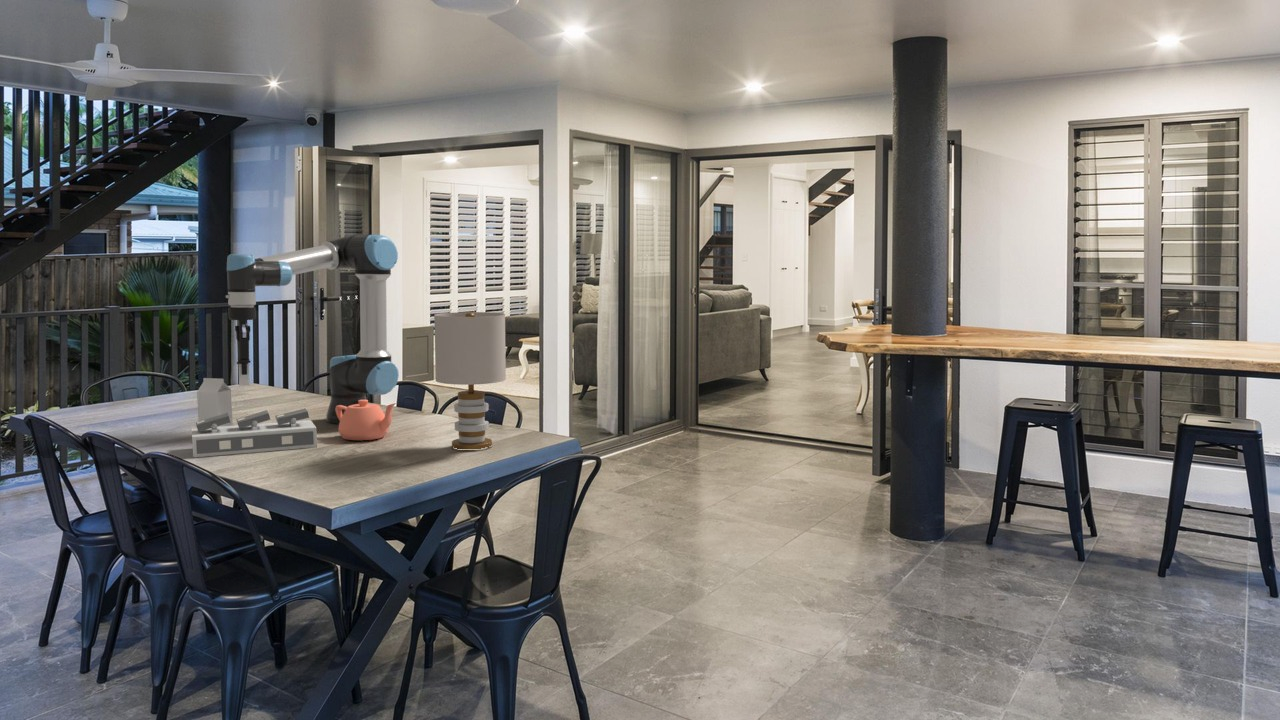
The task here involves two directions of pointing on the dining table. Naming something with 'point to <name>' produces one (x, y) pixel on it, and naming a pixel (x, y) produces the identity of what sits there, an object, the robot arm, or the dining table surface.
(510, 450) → the dining table surface
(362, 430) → the teapot
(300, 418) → the plate
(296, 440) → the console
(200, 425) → the rocker
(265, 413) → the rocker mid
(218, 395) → the milk carton
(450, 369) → the lamp
